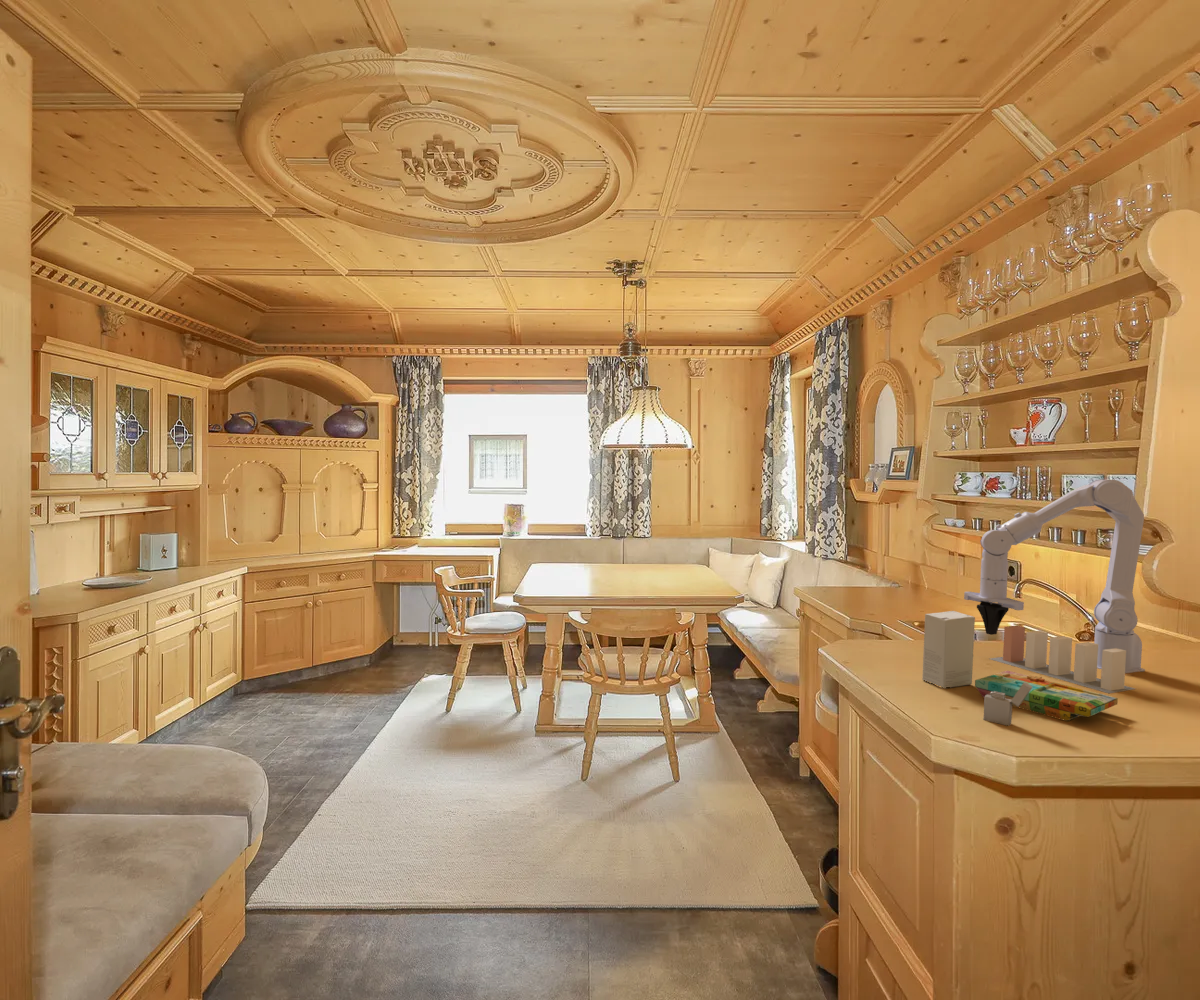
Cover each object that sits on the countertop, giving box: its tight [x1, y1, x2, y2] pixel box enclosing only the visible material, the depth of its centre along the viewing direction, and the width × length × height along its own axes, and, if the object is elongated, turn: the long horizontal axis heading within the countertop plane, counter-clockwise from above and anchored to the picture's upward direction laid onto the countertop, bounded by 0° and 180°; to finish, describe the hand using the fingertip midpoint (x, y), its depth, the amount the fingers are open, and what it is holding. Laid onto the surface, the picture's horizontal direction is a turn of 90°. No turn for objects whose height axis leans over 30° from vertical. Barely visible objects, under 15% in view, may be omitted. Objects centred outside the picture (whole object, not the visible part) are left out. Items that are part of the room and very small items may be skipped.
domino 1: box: [1002, 625, 1026, 662], centre depth 163 cm, size 4×2×8 cm, turn 113°
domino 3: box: [1048, 635, 1073, 676], centre depth 153 cm, size 4×2×8 cm, turn 113°
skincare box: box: [921, 610, 976, 689], centre depth 145 cm, size 8×6×15 cm
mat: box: [989, 656, 1136, 695], centre depth 154 cm, size 9×27×1 cm, turn 23°
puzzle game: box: [974, 670, 1119, 721], centre depth 132 cm, size 12×5×20 cm
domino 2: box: [1024, 630, 1049, 669], centre depth 158 cm, size 4×2×8 cm, turn 113°
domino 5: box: [1100, 648, 1126, 691], centre depth 143 cm, size 4×2×8 cm, turn 113°
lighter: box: [982, 682, 1032, 727], centre depth 122 cm, size 7×2×8 cm, turn 46°
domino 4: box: [1073, 641, 1098, 683], centre depth 148 cm, size 4×2×8 cm, turn 113°
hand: (991, 633), depth 169 cm, fingers closed
